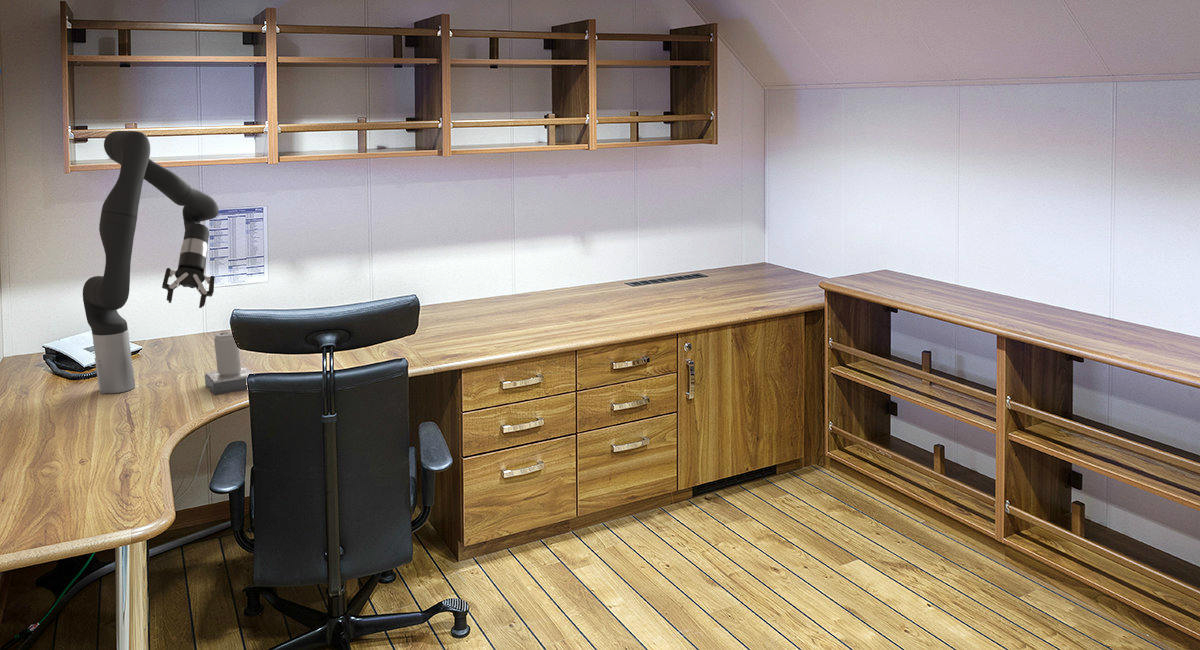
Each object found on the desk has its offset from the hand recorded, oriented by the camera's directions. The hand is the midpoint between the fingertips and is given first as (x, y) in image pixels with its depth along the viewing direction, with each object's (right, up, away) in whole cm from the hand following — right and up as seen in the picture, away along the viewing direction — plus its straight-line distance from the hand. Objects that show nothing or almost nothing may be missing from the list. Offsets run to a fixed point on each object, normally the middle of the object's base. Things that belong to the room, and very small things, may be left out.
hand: (185, 304), depth 284 cm
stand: (+16, -24, -7) cm, 30 cm away
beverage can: (+16, -20, -8) cm, 27 cm away
